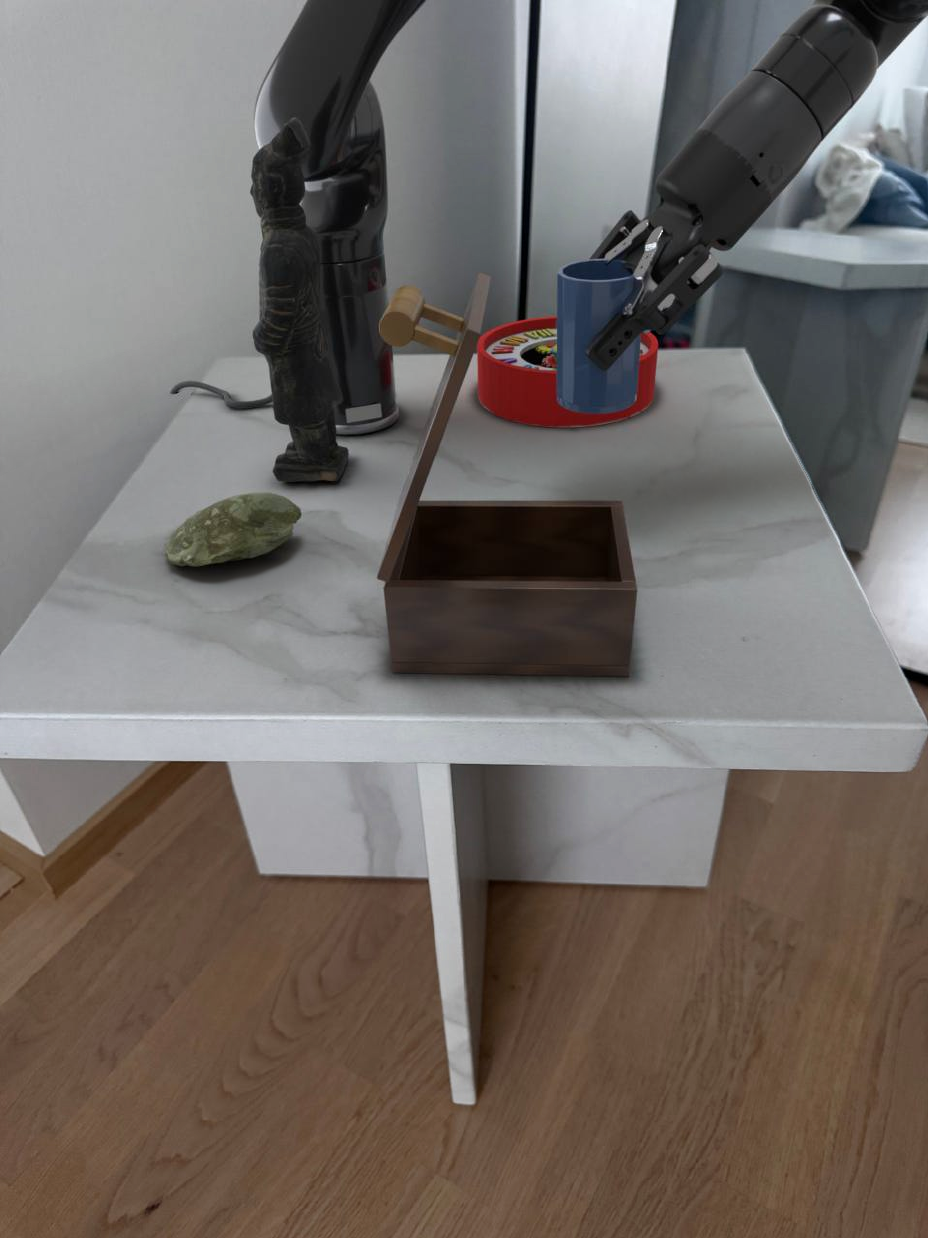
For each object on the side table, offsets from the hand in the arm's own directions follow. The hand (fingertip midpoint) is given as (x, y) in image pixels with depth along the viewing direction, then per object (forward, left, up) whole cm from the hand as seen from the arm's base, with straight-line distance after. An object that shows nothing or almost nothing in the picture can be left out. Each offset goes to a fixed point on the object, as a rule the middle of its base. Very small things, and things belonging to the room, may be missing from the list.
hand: (578, 347), depth 67 cm
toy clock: (-16, +24, -15) cm, 33 cm away
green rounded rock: (-20, -21, -15) cm, 32 cm away
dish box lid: (+2, -19, 0) cm, 19 cm away
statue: (-25, -7, -15) cm, 30 cm away
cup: (+1, +1, -4) cm, 5 cm away
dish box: (+5, -16, -15) cm, 23 cm away
